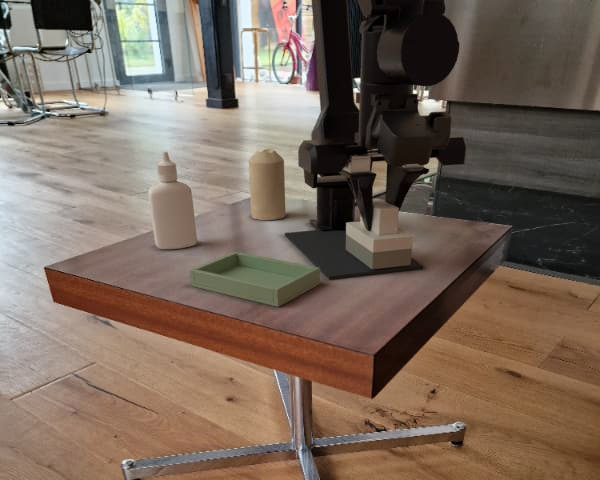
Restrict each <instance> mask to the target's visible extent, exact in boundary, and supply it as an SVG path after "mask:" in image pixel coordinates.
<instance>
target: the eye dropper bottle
mask: <svg viewBox="0 0 600 480" xmlns="http://www.w3.org/2000/svg"><path fill="white" fill-rule="evenodd" d="M156 169H157V177H158V181H159V182H157V183H155V184H154V185H151V186H150V187H149V189H148V191H147V196H148V197H147V198H148V204H149V211H150V219H151V225H152V231H153V239H154V244H155V246H156V247H157V248H158V249H160V250H164V251H165V250H177V249H178V250H180V249H186V248H189V247H193V246H195V245H197V244H198V236H197V226H196V217H195V210H194V209H195V208H194V199H193V193H192V189H191V187H190V186H189V185H188V184H187V183H184V182H183V181H178V171H177V163H176V162H173V161H172V160H171V159H170V156H169V152H168V151H162V152H161V159H160V162H158V163H156Z"/></svg>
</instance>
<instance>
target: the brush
mask: <svg viewBox="0 0 600 480" xmlns="http://www.w3.org/2000/svg"><path fill="white" fill-rule="evenodd" d="M385 201H386V200H383V199H381V198H373V220H372V228H371V230H370V231H368V230H366V229H365V226H364V223H363V220H362V217H361V215H360V216H359V217H360V220H359V221H356V222H347V223H346V250H347V251H348V252H350V253H351V254H352V255H354V256H355V257H356V258H358V259H359V260H360V261H362V262H363V263H364V264H365V265H367V266H368V267H369V268H371V269H381V268H390V267H399V266H408V265H411V258H412V253H413V241H414V235H412V234H410V233H409V232H406V231H404V230H403V229H401V228H399V215H400V214H399V213H400V211H399V208H398V207H396V206H394V205H392V204H390V203H387V202H385Z"/></svg>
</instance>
